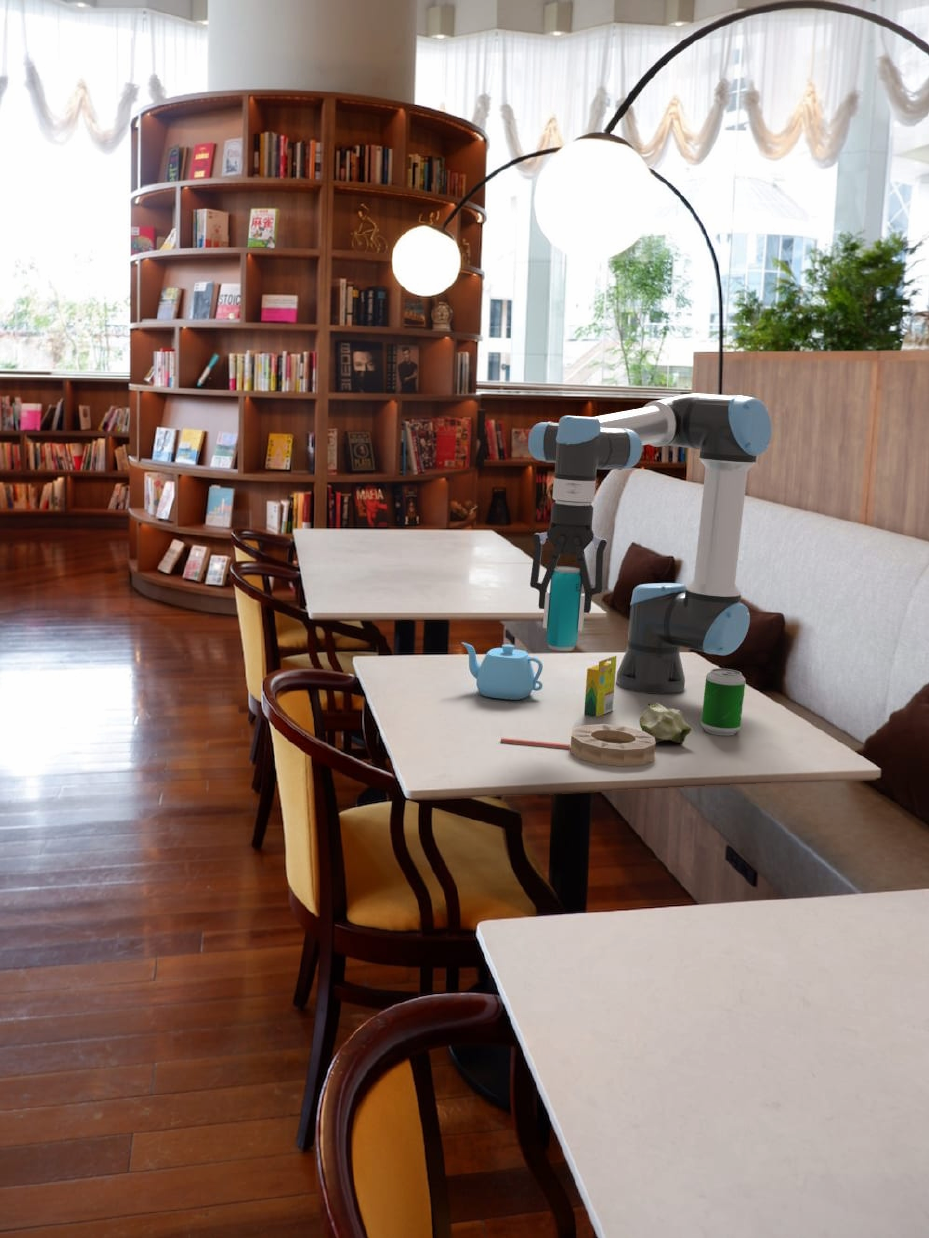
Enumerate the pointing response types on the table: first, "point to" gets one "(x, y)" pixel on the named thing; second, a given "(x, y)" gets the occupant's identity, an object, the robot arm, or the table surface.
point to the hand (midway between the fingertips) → (562, 627)
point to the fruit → (664, 723)
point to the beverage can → (564, 608)
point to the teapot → (505, 672)
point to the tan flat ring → (612, 745)
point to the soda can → (723, 701)
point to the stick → (535, 743)
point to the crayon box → (600, 688)
